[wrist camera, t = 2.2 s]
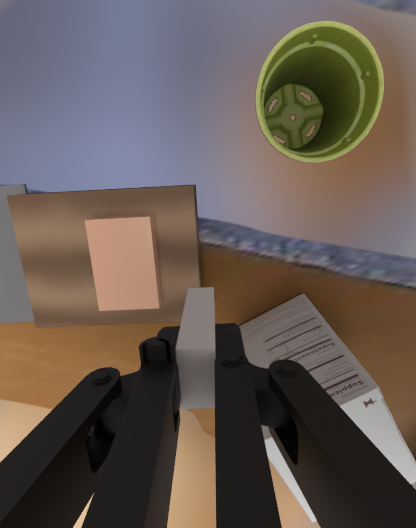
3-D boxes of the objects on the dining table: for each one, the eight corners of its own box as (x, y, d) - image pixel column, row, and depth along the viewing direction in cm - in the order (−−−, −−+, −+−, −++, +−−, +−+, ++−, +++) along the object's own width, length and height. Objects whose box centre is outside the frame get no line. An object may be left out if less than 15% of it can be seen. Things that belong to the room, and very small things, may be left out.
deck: (203, 305, 37) (202, 320, 33) (54, 312, 37) (36, 327, 33) (195, 184, 33) (193, 185, 29) (30, 193, 33) (6, 195, 29)
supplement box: (234, 326, 37) (251, 440, 21) (303, 290, 36) (378, 382, 20) (271, 384, 39) (312, 529, 23) (337, 352, 38) (430, 482, 22)
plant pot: (227, 137, 32) (232, 123, 23) (276, 44, 29) (301, -9, 21) (303, 183, 33) (334, 185, 24) (356, 97, 30) (411, 66, 22)
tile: (162, 300, 32) (159, 308, 30) (105, 303, 32) (99, 310, 30) (153, 214, 30) (149, 216, 28) (92, 217, 30) (84, 220, 28)
